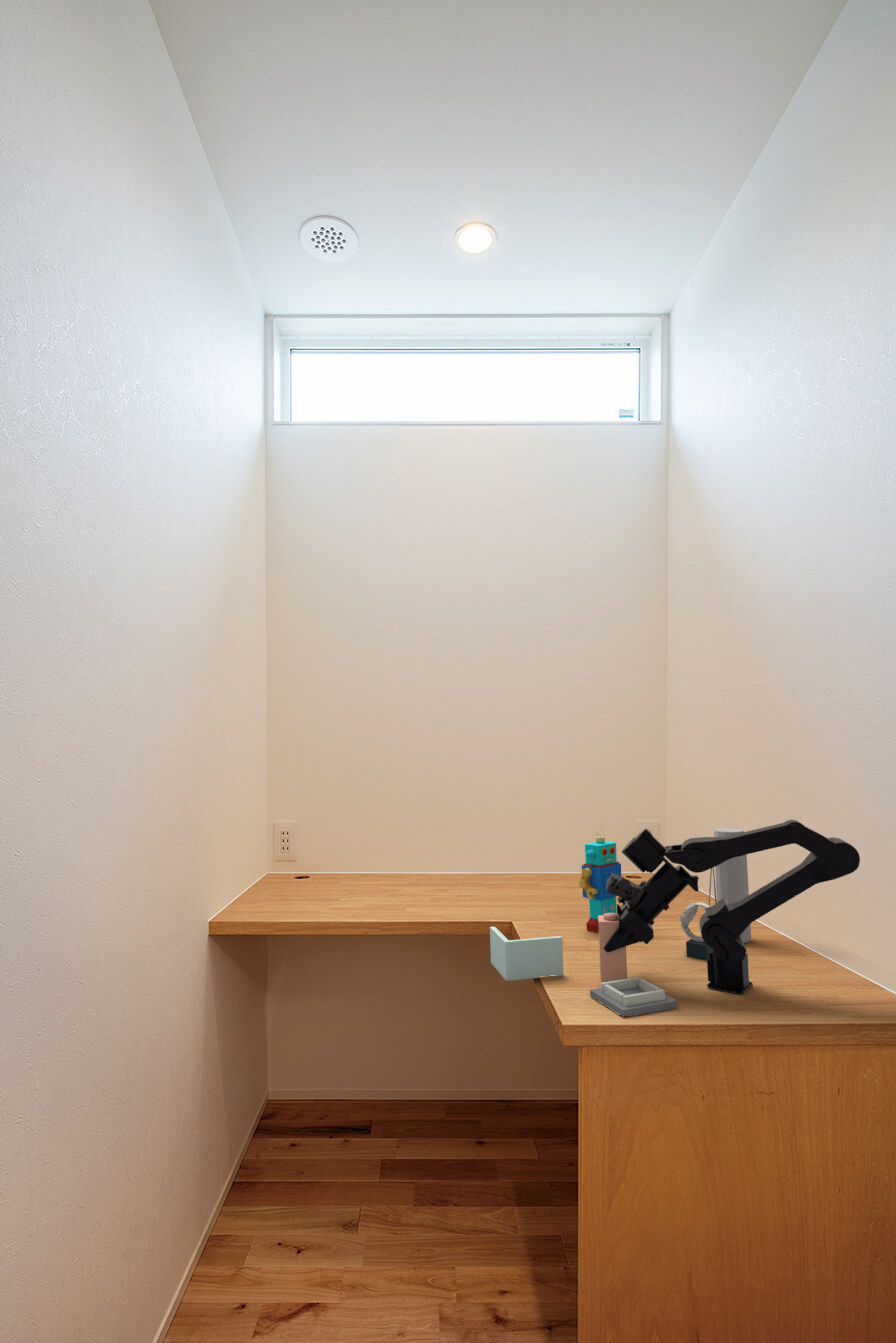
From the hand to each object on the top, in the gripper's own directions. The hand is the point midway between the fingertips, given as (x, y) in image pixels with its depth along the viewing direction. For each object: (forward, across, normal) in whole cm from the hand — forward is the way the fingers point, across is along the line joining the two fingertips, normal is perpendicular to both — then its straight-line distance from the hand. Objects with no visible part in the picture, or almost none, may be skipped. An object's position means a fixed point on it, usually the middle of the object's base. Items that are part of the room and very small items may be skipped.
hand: (605, 946), depth 148 cm
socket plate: (+2, +11, +8) cm, 13 cm away
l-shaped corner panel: (+16, -6, -7) cm, 19 cm away
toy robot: (+4, -39, +5) cm, 39 cm away
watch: (-10, -19, +19) cm, 29 cm away
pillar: (+4, 0, +6) cm, 7 cm away
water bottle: (-16, -32, +25) cm, 43 cm away
